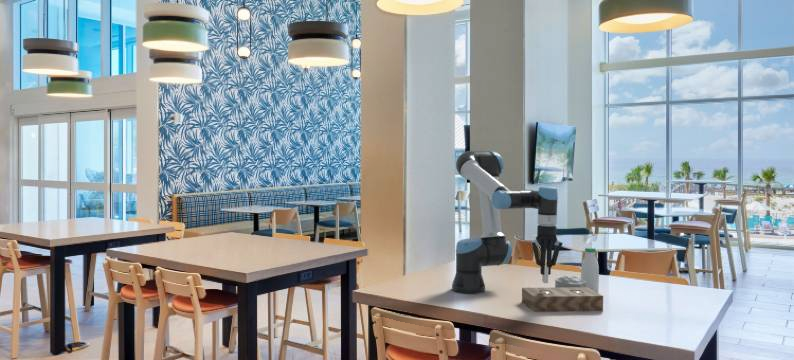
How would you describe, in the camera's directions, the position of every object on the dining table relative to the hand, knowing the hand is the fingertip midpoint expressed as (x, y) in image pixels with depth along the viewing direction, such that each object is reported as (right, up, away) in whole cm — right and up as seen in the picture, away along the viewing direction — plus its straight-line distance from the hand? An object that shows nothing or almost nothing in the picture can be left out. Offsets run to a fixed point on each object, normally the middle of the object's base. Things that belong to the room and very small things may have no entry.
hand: (545, 282), depth 233 cm
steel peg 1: (0, -10, 0) cm, 10 cm away
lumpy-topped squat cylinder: (+15, -10, +17) cm, 25 cm away
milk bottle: (+28, -9, +28) cm, 40 cm away
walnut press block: (+7, -10, 0) cm, 12 cm away
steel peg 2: (+13, -10, +1) cm, 16 cm away
